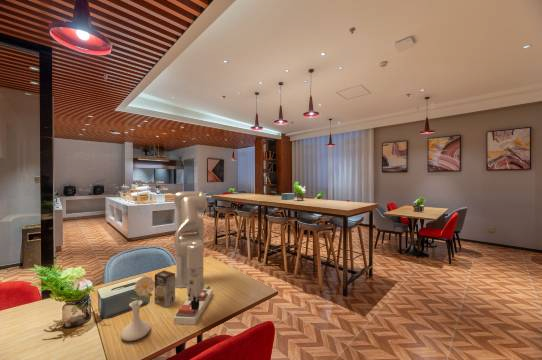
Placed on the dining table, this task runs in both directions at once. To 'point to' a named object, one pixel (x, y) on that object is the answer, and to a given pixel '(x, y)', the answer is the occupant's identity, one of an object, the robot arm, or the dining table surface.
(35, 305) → the dining table surface
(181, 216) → the robot arm
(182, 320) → the power strip
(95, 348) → the dining table surface
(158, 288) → the coffee box
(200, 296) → the far rocker
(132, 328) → the flower in vase
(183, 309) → the near rocker
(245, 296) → the dining table surface
